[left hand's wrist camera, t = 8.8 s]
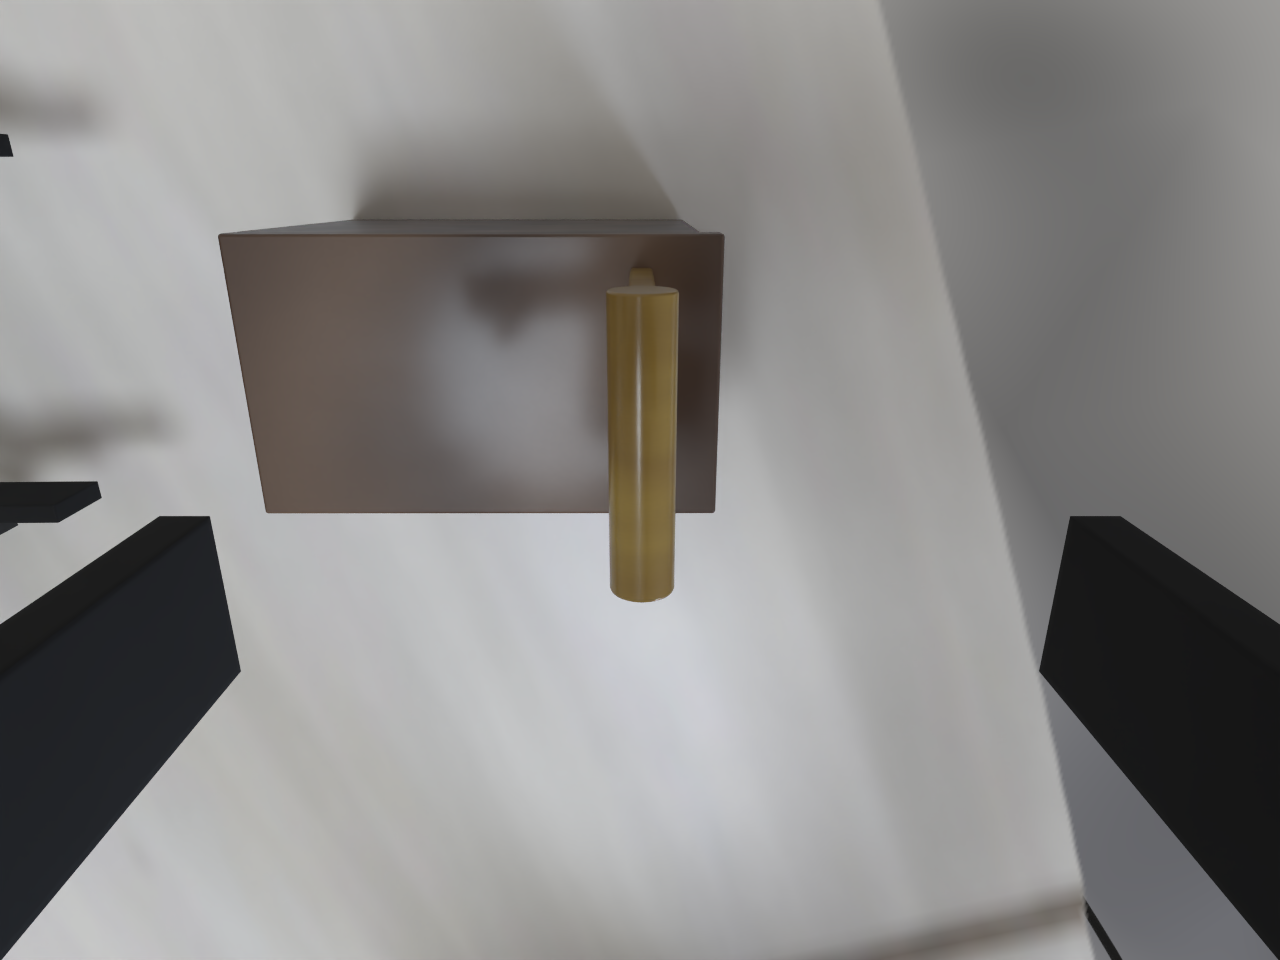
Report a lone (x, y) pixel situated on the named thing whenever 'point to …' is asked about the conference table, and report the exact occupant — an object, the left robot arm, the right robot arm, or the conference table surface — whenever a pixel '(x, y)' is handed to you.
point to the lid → (487, 377)
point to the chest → (490, 226)
